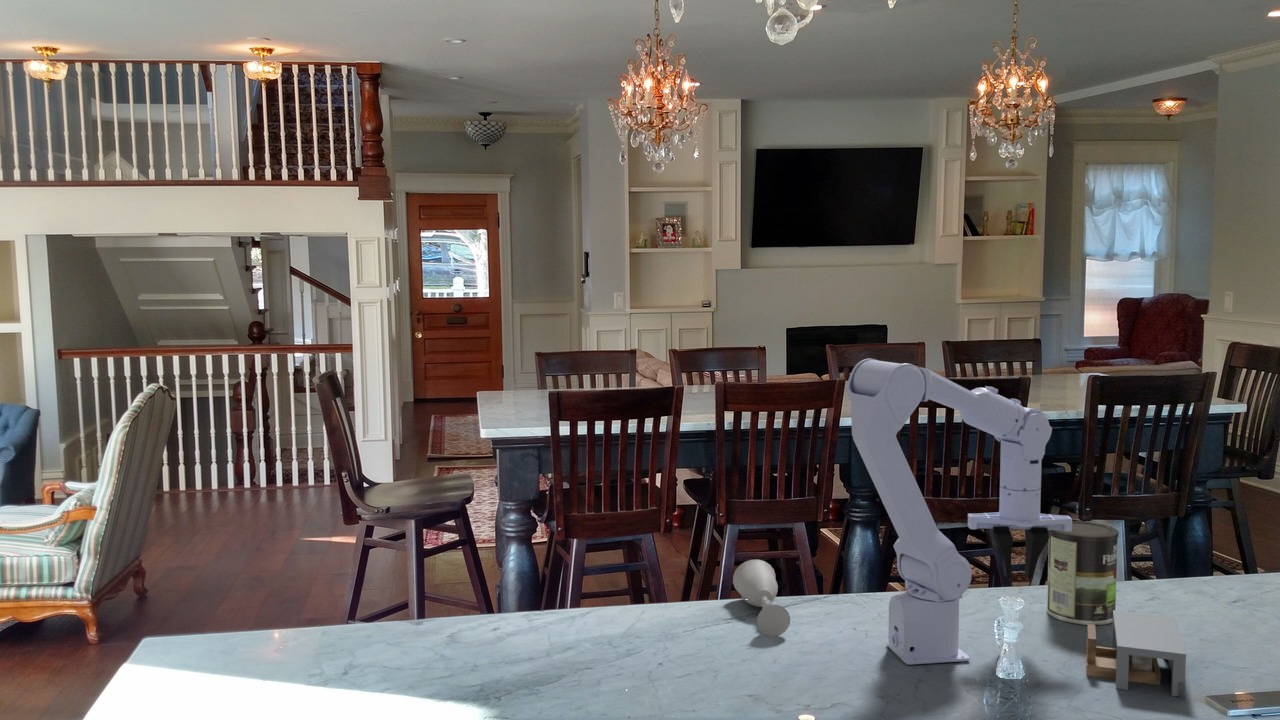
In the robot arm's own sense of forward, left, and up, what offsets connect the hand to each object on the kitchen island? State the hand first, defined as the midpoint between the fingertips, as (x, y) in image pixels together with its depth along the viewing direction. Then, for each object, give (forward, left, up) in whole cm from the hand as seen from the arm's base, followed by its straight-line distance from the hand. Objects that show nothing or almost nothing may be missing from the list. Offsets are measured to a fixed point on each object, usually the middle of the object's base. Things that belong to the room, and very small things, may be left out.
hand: (1018, 576), depth 153 cm
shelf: (+11, -15, -9) cm, 21 cm away
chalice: (-36, +6, -7) cm, 37 cm away
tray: (+8, -14, -10) cm, 19 cm away
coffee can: (+15, +8, -10) cm, 20 cm away
